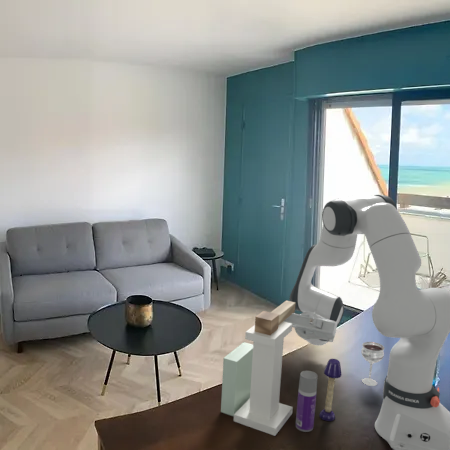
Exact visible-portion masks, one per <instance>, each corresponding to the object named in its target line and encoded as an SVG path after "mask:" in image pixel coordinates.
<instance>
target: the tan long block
mask: <svg viewBox="0 0 450 450" xmlns="http://www.w3.org/2000/svg"><path fill="white" fill-rule="evenodd" d="M295 303H296V302H291V301H290V300H285V301H283V302H282V303H281V304H280V305H278V306H276V308H273V310H272V311H266V310H262V311H261V312H259V313H258V314H256V316H255V319H254V325H255V332H259V333H262V334H266V335H272V334H273V333H274V332H275V331H276V330H277V329H278V325H280V324H281V323H282V322H283V321H284V320H286V319H287V318H288V317H289V316H290V315H292V314H293V313H295V312H296V310H295Z"/></svg>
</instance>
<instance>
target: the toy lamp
mask: <svg viewBox="0 0 450 450" xmlns="http://www.w3.org/2000/svg"><path fill="white" fill-rule="evenodd" d="M323 374H324V376H325V377H328V381H327V390H326V397H325V406H324V409H322V410H320V412H319V414H318V415H319V418H320V419H321V420H323V421H326V422H332V421H334V420H336V415H335V412H334V411H333V410H332V409H333V408H332V405H333V400H334V398H333V397H334V390H335V382H336V381H335V380H336V379H340V378H341V377H342V375H343V374H342V367H341V362H340V360H338V359H336V358H330V359H328V361H327V363H326V365H325V368H324V370H323Z"/></svg>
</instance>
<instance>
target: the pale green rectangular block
mask: <svg viewBox="0 0 450 450" xmlns="http://www.w3.org/2000/svg"><path fill="white" fill-rule="evenodd" d="M252 357H253V343H249V342H245V341H244V342H242V343H240V344H239V345H238V346H236V347H235V348H234V349H233V350H232V351H230V352H229V353H228V354H226V355H225V356H224V357H223V359H222V361H223V362H222V363H223V364H222V379H221V380H222V383H221V384H222V385H221V399H220V400H221V403H220V413H223V414H225V415H228V416H231V417H234V414H235V413H236V412H237V411H238V410H239V409H240V408H241V407H242V406H243V405H244V404H245V403H246V402H247V401H248V400H249V399H250V389H251V373H252Z"/></svg>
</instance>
